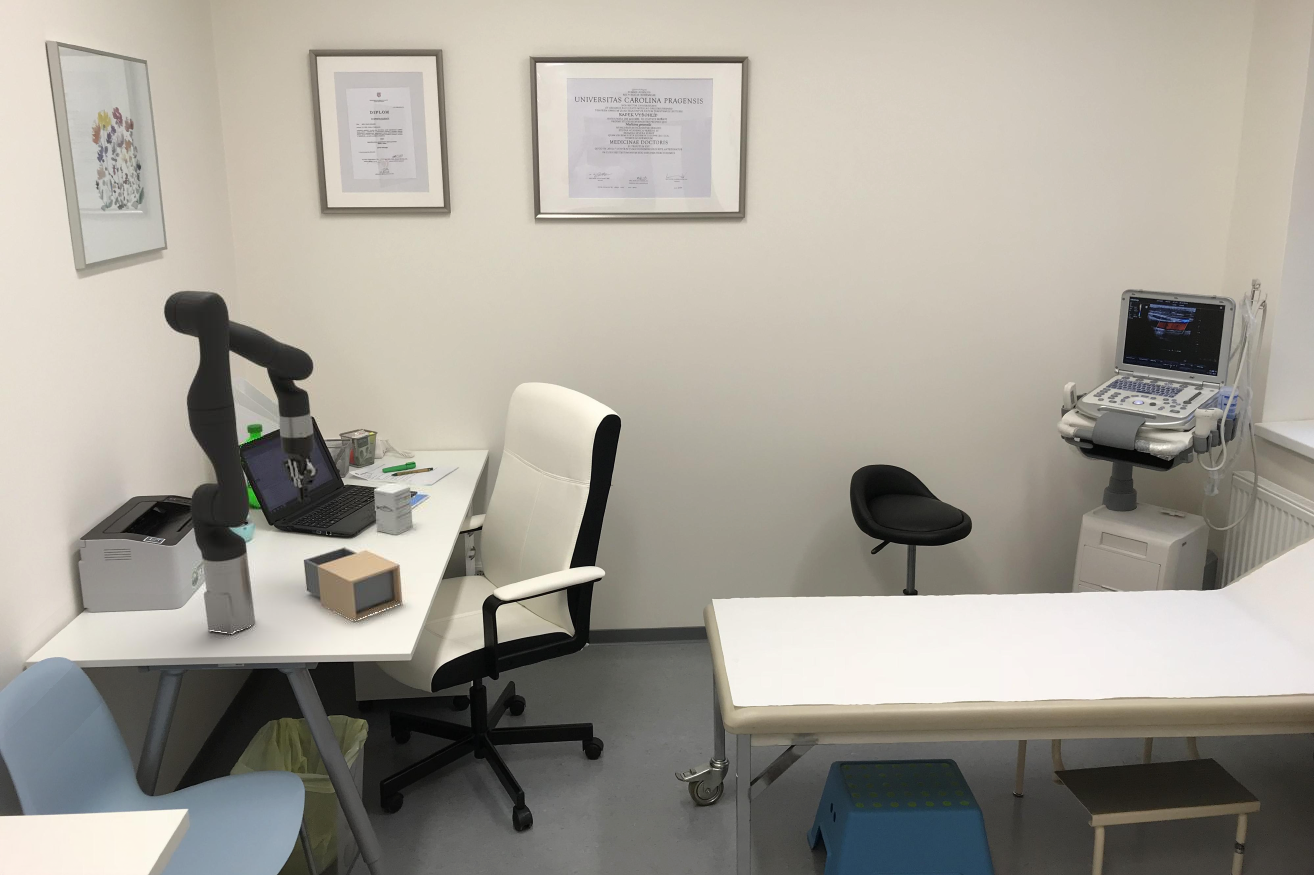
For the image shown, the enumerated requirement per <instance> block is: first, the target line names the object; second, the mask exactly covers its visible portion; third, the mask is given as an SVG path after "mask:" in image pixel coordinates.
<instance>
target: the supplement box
mask: <svg viewBox="0 0 1314 875" xmlns="http://www.w3.org/2000/svg"><path fill="white" fill-rule="evenodd" d="M373 493H374V494H373V496H374V505H375V511H376V515H375V521H376V522H375V524H376V531H377V532H380V533H381V532H382V533H386V534H391V535H394V536H397V535H400V534H402V533H404V532H406V531H408V530H410V529H413V512H412V509H413V508H412V509H411V494H412V493H411V486H410V485H402V484H398V483H392V482H390V483H387V484H384V485H381V486H379V487H377V488H374V490H373Z"/></svg>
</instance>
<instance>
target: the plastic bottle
mask: <svg viewBox="0 0 1314 875" xmlns="http://www.w3.org/2000/svg"><path fill="white" fill-rule="evenodd" d="M246 428H247V433H248V434H249V438H247V439H246V440H245V441H244V442H243V443H242V444H244V443H247V442H250V441H252V440H254V439H257V438H260V437H263V436H262V433H263V431H264V430H263V424H262V423H261V424H259V423H253V424H252V423H251V424H249V425H247V426H246ZM246 485H247V489H248V494H249V505H252V506H254V507H255V508H258V509H259V508H260V506H259V504H258V501H257V499H256V496H255V494H254V492H253V490H252V489H251V487H250V484H249V482H248V479H247V478H246ZM260 509H261V508H260Z"/></svg>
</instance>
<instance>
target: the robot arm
mask: <svg viewBox="0 0 1314 875" xmlns="http://www.w3.org/2000/svg"><path fill="white" fill-rule="evenodd" d="M163 307H164V308H163V313H164V314H163V316H164V318H165V321H166V323H167V324H168V326H169V327H170V329H172V330H174V332H176V333H179V334H182V335H184V336H185V335H186V336H187V335H188V336H191V337H194V338H196V339H198V345H199V365H198V368H197V371H196V373H195V374H194V377H193V380H192V382H191V384H190V386H189V389H188V392H187V396H186V407H187V413H188V414H187V415H188V423H189V428H190V431H191V433H192V435H193V437H194V439H195V441H196V442H197V444H198V445H199V447H200V448H201V449H202V451H203V453H204V454H205V455H206V456H207V458H208V459H209V461H210V463H211V465H212V467H213V469H214V473H215V477H216V482H217V483H212V482H211V483H210V482H208V483H207V482H205V483H203V484H200V485H199V486H197V487H196V488H195V489H194V491H193V492H192V495H191V499H190V515H191V522H192V526H193V531H194V532H193V533H194V537H195V542H196V545H197V548H198V550H200V552H201V553H200V554H201V560H202V566H203V574H204V582H205V591H204V592H203V598H204V606H205V613H206V614H205V615H206V622H207V629H208V631H209V630H214V631H221V632H227V633H233V632H234V631H237V630H241V629H245V628H247V627H249V626H250V625H252V624H253V623H254V622H255V623H256V619H255V618H256V615H255V610H254V609H255V608H254V602H253V591H252V584H251V582H252V581H251V575H250V567H249V559H248V558H249V557H248V556H249V555H248V550H247V543H246V540H245V538H244V537H243V536H242V535H239V534H238V533H236V532H235V531H233V530H232V529H231V528H238V527H241V526H243V524H245V522H246V521H247V519H248V516H249V514H250V503H249V494H248V489H247V479H246V476H245V472H244V468H243V462H241V457H240V446H239V445H240V443H239V437H238V430H237V416H236V408H235V407H236V406H235V400H234V399H235V398H234V394H233V385H232V376H231V375H232V374H231V362H230V352H231V353H234V354H236V355H238V356H239V357H242V358H244V359H246V360H248V361H249V362H251V363H253V364H255V365H257V366H259V367H261V368H264V369H266V371H267V375H268V379H269V380H270V384H271V386H272V388H273V391H274V393H275V396H276V397H277V403H278V414H279V420H278V421H279V422H278V424H279V434H280V435H279V436H280V445H281V451H282V453H283V454H285V455H286V458H287V459H284V460H282V465H283V468H284V469H285V471H286V473H287V476H288V478H289V480H290V483H294V486H295V487H296V494H297V495H296V496H297V500H298V502H299V501H300V502H301V503H303V502H307V501H309V500H310V496H309V495H310V492H309V486H312V485H314V483H315V481H316V478H317V475H318V473H319V469H318V467H317V466H315V467H314V466H313V465H312V463H313V459H312V456H311V453H312V452H313V451H314V450H315V446H316V445H315V436H314V426H313V420H312V415H311V405H310V398H309V393H308V391H307V390H305V389H303V388H301V387H298V386H297V385H296V384H295V382H296V381H297V382H298V381H305V380H308V378H309V377H310V376H311V375H312V374H313V371H314V362H313V360H312V358H311V356H310V355H309V353H307V352H306V351H304V350H302V349H300V348H299V347H298V348H297V347H295V346H293V345H289V344H286V343H284V342H281V341H279V340H277V339H275V338H273V337H271V336H269V335H268V334H267V333H265V332H262V331H261V330H258V329H256V328H255V327H252V326H249V325H245V324H242V323H240V322H236V321H234V320H230V317H229V316H230V315H229V310H228V306H227V303H226V301H225V299H224V298H223V297H222V295H220V294H219V293H217V292H212V291H202V290H200V291H198V290H181V291H177V292H175V293H172V294H171V295H170V296H169V297H168V298H167V299H166V301H165V304H164V306H163ZM255 623H254V624H255ZM254 624H253V625H254ZM253 625H252V626H253ZM245 630H246V629H245Z"/></svg>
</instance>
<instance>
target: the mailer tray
mask: <svg viewBox="0 0 1314 875" xmlns="http://www.w3.org/2000/svg"><path fill="white" fill-rule="evenodd" d="M356 553H357V552H356V551H354V550H351V549H349V548H347V547H342V548H338V549H334V550H332V551H328V552H325V553H322V554H319V555H316V556H312V557H310V558H306V559H303V566H304V574H305V585H306V586H305V587H306V592H308V593H310V594H312V595H315V596H316V597H318V598H320V599H321V597H320V587H319V577H318V567H317V566H318V565H321V564H324V563H328V562H331V561H334V560H337V559H340V558H343V557H346V556H349V555H353V554H356ZM353 587H354V598H355V610H356V613H358V612H360V611H363V610H366V609H368V608H371V607H374V606H377V605H379V604H382V603H385V602H387V601H390V600H393V599H394V597H393V584H392V571H391V570H390V571H387V572H384V573H381V574H378V575H375V576H372V577H369V578H367V579H364V580H361V581H358V582H355V583H353Z"/></svg>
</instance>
